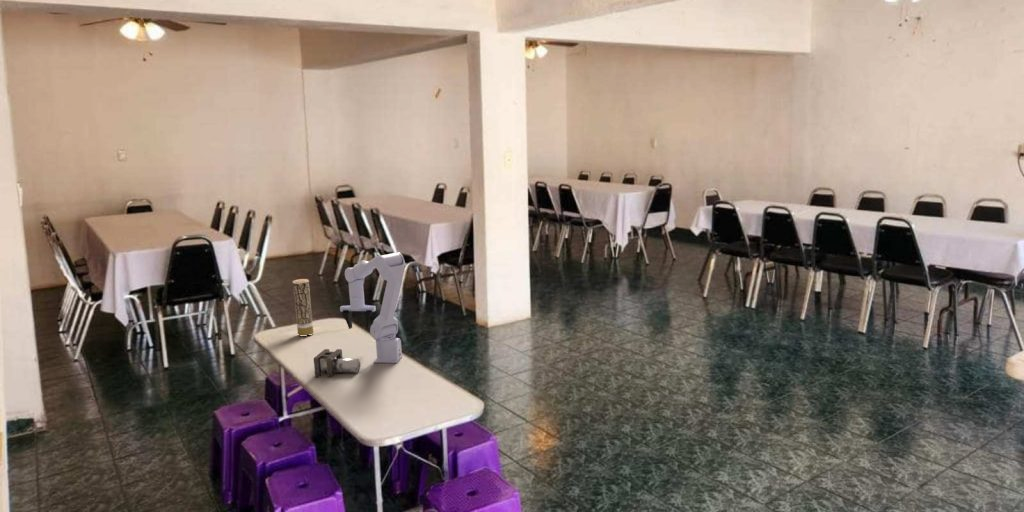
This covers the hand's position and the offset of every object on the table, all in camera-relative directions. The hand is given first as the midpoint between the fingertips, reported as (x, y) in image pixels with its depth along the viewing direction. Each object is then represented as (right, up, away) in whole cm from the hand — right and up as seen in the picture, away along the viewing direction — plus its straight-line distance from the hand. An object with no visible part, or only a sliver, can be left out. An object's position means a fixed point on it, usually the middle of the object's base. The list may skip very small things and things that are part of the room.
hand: (359, 328), depth 292 cm
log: (-30, -6, +28) cm, 42 cm away
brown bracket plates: (-7, -15, -22) cm, 27 cm away
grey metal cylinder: (-3, -14, -22) cm, 27 cm away
